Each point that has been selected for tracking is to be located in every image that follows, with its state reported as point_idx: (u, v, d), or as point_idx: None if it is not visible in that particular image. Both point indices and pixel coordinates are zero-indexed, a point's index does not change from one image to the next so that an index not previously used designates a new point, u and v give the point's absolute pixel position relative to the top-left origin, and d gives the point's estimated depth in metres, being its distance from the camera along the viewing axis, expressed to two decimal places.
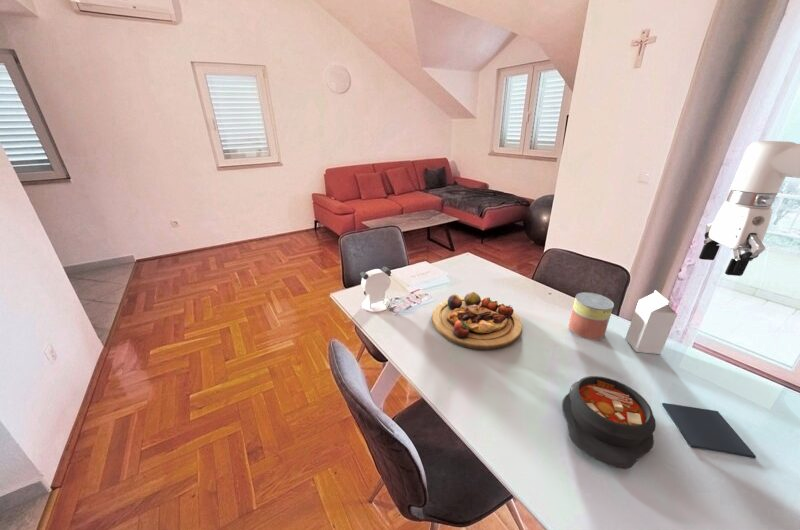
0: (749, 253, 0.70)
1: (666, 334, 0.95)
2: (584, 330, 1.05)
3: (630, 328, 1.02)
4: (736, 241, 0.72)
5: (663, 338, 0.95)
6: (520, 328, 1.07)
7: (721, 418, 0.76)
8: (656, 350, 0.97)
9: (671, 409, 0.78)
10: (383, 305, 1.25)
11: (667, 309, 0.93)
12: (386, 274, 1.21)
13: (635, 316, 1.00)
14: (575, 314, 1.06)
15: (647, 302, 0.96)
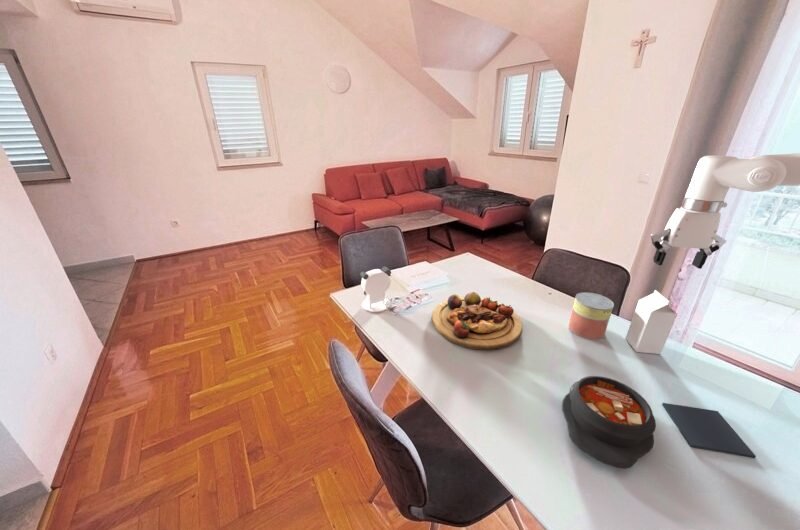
0: (718, 247, 0.84)
1: (666, 334, 0.95)
2: (584, 330, 1.05)
3: (630, 328, 1.02)
4: (710, 241, 0.83)
5: (663, 338, 0.95)
6: (520, 328, 1.07)
7: (721, 418, 0.76)
8: (656, 350, 0.97)
9: (671, 409, 0.78)
10: (383, 305, 1.25)
11: (667, 309, 0.93)
12: (386, 274, 1.21)
13: (635, 316, 1.00)
14: (575, 314, 1.06)
15: (647, 302, 0.96)
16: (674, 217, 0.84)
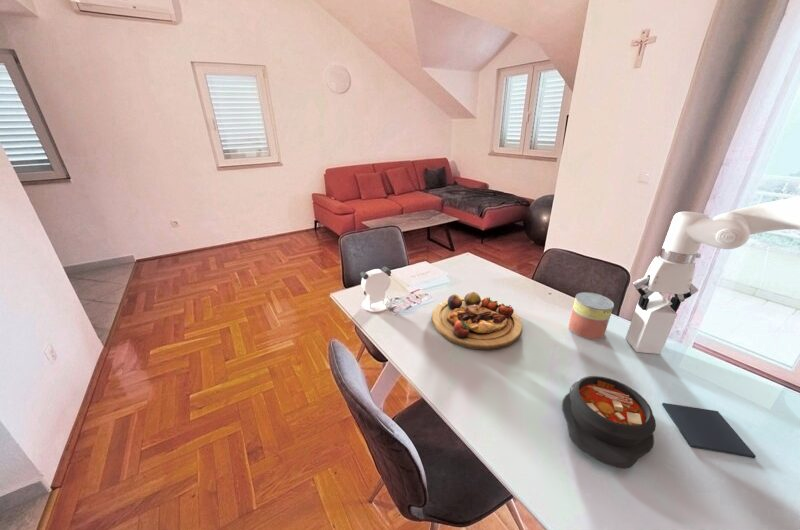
0: (690, 294, 0.91)
1: (666, 334, 0.95)
2: (584, 330, 1.05)
3: (630, 328, 1.02)
4: (686, 288, 0.90)
5: (663, 338, 0.95)
6: (520, 328, 1.07)
7: (721, 418, 0.76)
8: (656, 350, 0.97)
9: (671, 409, 0.78)
10: (383, 305, 1.25)
11: (667, 309, 0.93)
12: (386, 274, 1.21)
13: (635, 316, 1.00)
14: (575, 314, 1.06)
15: None
16: (653, 265, 0.91)
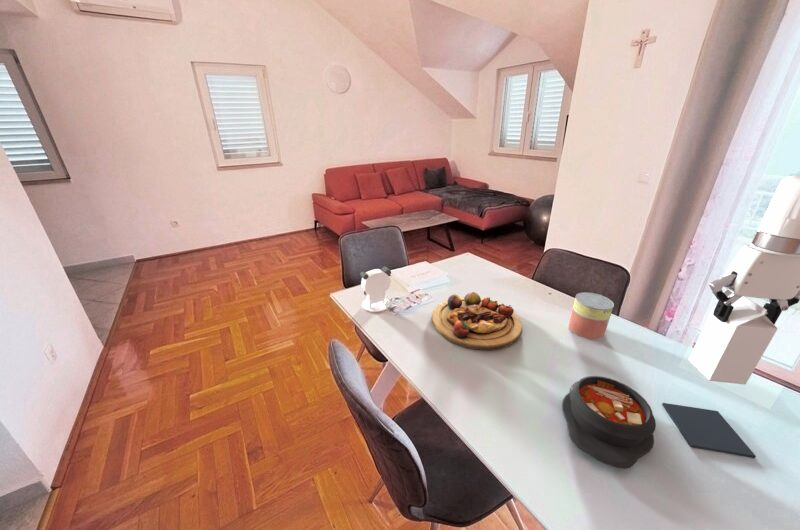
0: (798, 299, 0.62)
1: (757, 357, 0.66)
2: (584, 330, 1.05)
3: (697, 346, 0.73)
4: (794, 291, 0.61)
5: (752, 362, 0.66)
6: (520, 328, 1.07)
7: (721, 418, 0.76)
8: (739, 379, 0.68)
9: (671, 409, 0.78)
10: (383, 305, 1.25)
11: (761, 321, 0.64)
12: (386, 274, 1.21)
13: (706, 330, 0.71)
14: (575, 314, 1.06)
15: None
16: (742, 257, 0.62)
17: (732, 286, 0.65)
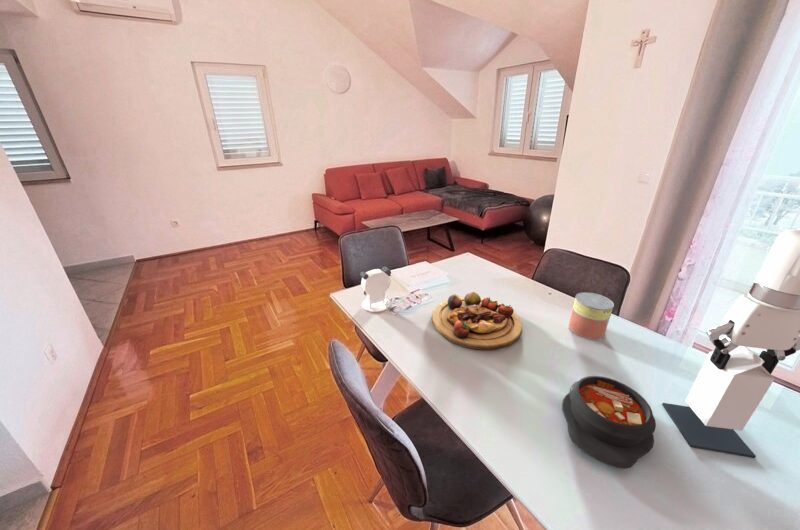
0: (794, 350, 0.62)
1: (754, 405, 0.65)
2: (584, 330, 1.05)
3: (694, 389, 0.73)
4: (791, 343, 0.60)
5: (749, 410, 0.66)
6: (520, 328, 1.07)
7: None
8: (736, 425, 0.68)
9: (671, 409, 0.78)
10: (383, 305, 1.25)
11: (758, 369, 0.64)
12: (386, 274, 1.21)
13: (703, 374, 0.71)
14: (575, 314, 1.06)
15: None
16: (739, 307, 0.62)
17: (729, 334, 0.65)
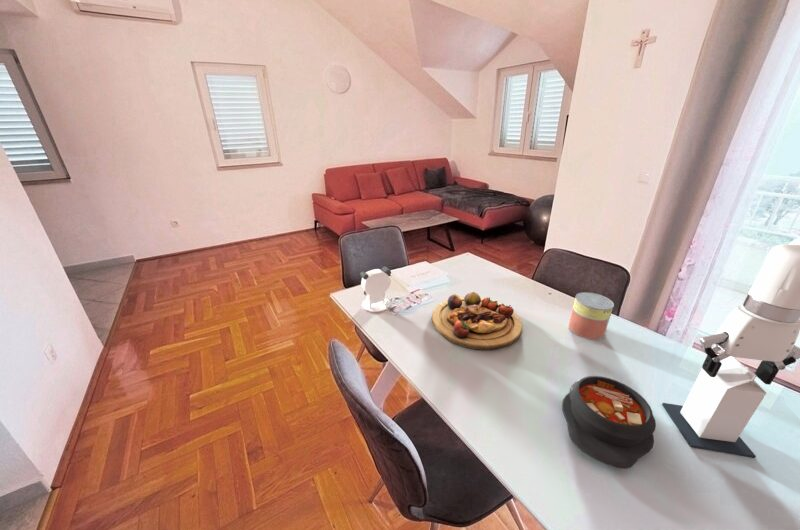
0: (794, 359, 0.62)
1: (747, 418, 0.67)
2: (584, 330, 1.05)
3: (689, 401, 0.75)
4: (784, 354, 0.61)
5: (742, 422, 0.67)
6: (520, 328, 1.07)
7: None
8: (729, 437, 0.69)
9: (671, 409, 0.78)
10: (383, 305, 1.25)
11: (750, 383, 0.65)
12: (386, 274, 1.21)
13: (697, 387, 0.72)
14: (575, 314, 1.06)
15: (718, 371, 0.68)
16: (733, 320, 0.63)
17: (724, 345, 0.66)
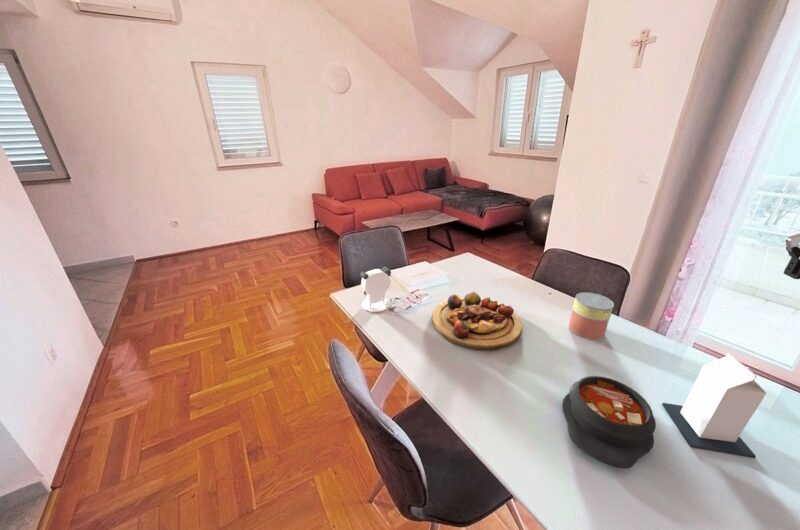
0: None
1: (747, 418, 0.67)
2: (584, 330, 1.05)
3: (689, 401, 0.75)
4: None
5: (742, 422, 0.67)
6: (520, 328, 1.07)
7: None
8: (729, 437, 0.69)
9: (671, 409, 0.78)
10: (383, 305, 1.25)
11: (750, 383, 0.65)
12: (386, 274, 1.21)
13: (697, 387, 0.72)
14: (575, 314, 1.06)
15: (718, 371, 0.68)
16: None
17: None
